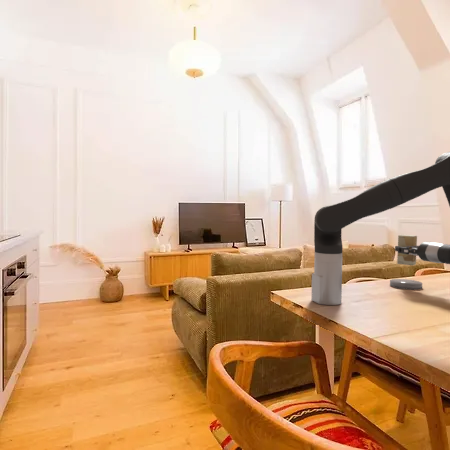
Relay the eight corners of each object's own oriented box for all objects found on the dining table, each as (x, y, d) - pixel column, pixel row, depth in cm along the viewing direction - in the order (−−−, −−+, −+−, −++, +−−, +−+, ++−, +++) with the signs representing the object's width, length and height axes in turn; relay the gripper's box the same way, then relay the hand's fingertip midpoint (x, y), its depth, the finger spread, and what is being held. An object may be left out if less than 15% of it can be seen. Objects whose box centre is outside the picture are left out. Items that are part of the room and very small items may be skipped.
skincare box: (396, 264, 143) (397, 235, 143) (400, 263, 146) (400, 234, 146) (413, 265, 139) (413, 235, 138) (416, 264, 142) (417, 235, 142)
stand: (403, 290, 136) (403, 285, 136) (383, 284, 148) (383, 279, 148) (429, 289, 139) (429, 284, 138) (407, 282, 150) (407, 278, 150)
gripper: (450, 242, 130) (417, 239, 146) (418, 242, 127) (388, 239, 143) (450, 261, 130) (417, 256, 146) (418, 262, 127) (388, 257, 143)
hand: (403, 248), depth 145 cm, fingers closed on skincare box, 6 cm apart
